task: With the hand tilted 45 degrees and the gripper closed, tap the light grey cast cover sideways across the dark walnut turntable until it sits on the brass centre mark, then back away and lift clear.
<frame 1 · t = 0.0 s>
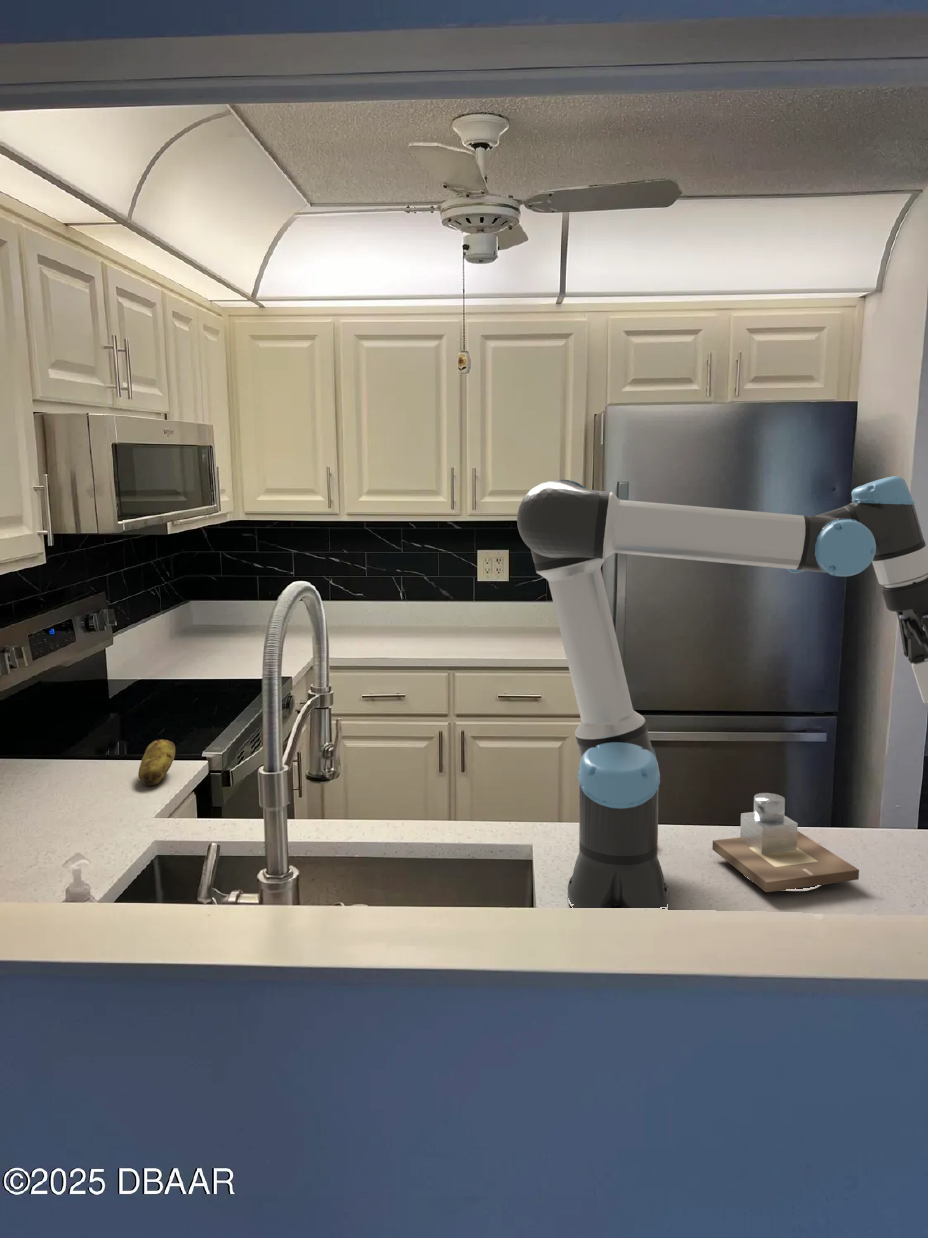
potato: (157, 780, 191), on the worktop
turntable: (782, 859, 139), point 2 cm above the worktop, hinge at 0.0°, touching cast cover
cast cover: (767, 844, 143), point 3 cm above the worktop, touching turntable
turntable base: (782, 873, 139), on the worktop
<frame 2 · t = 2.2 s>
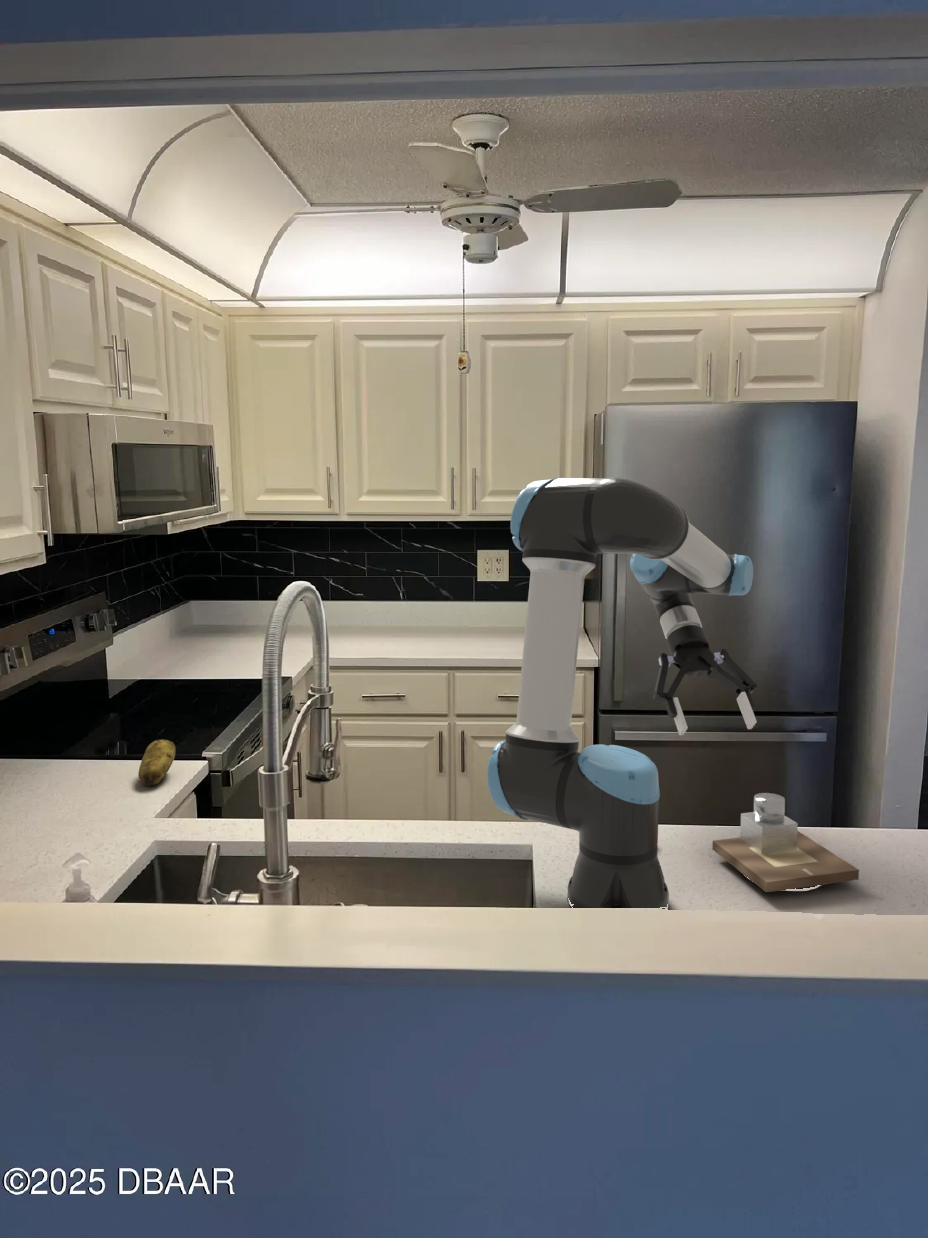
hand: (718, 729, 158), 18 cm above the worktop, tool tilted 45°, fingers open, 13 cm apart
nothing on the worktop moved.
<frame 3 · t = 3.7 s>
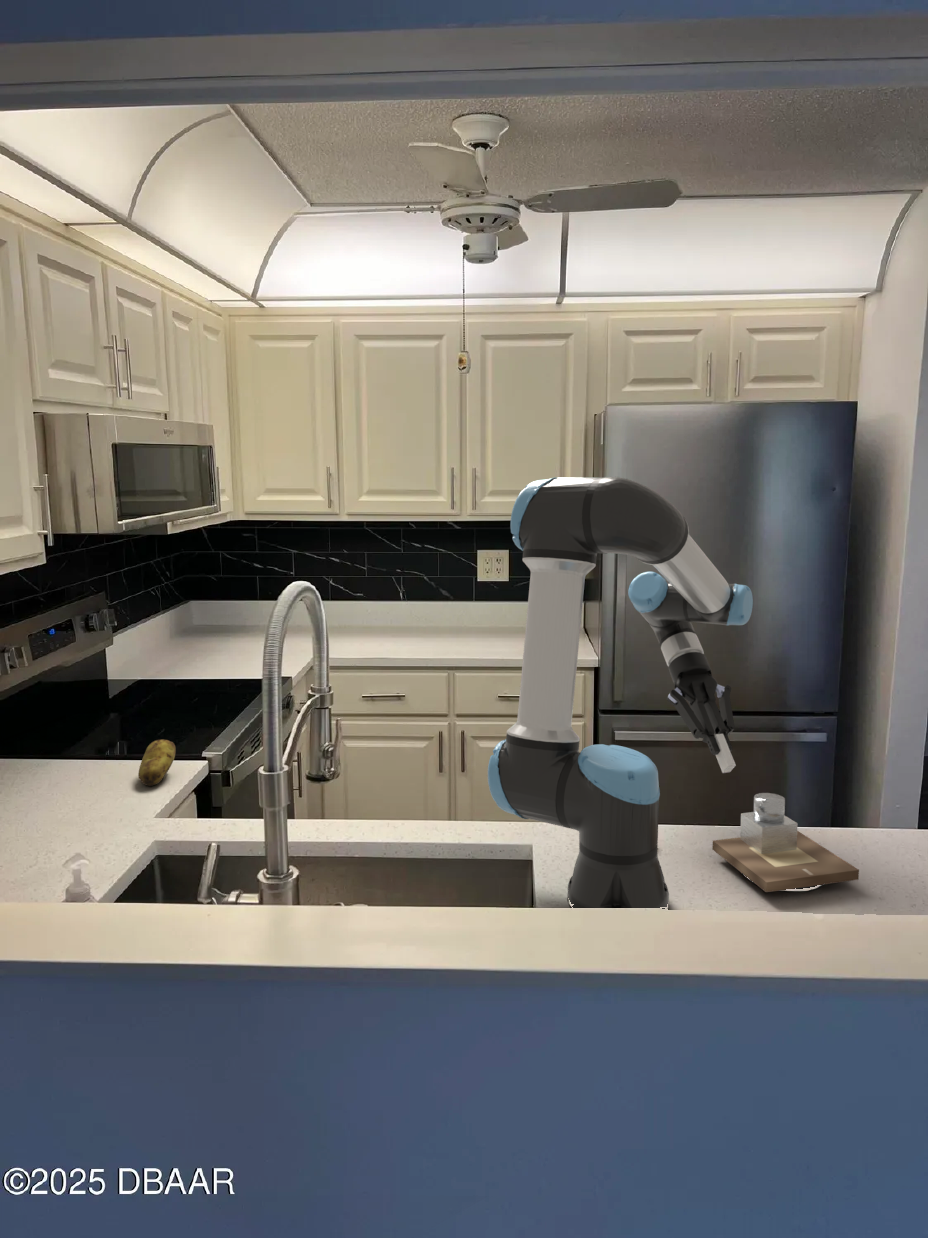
hand: (729, 769, 155), 12 cm above the worktop, tool tilted 45°, fingers closed
nothing on the worktop moved.
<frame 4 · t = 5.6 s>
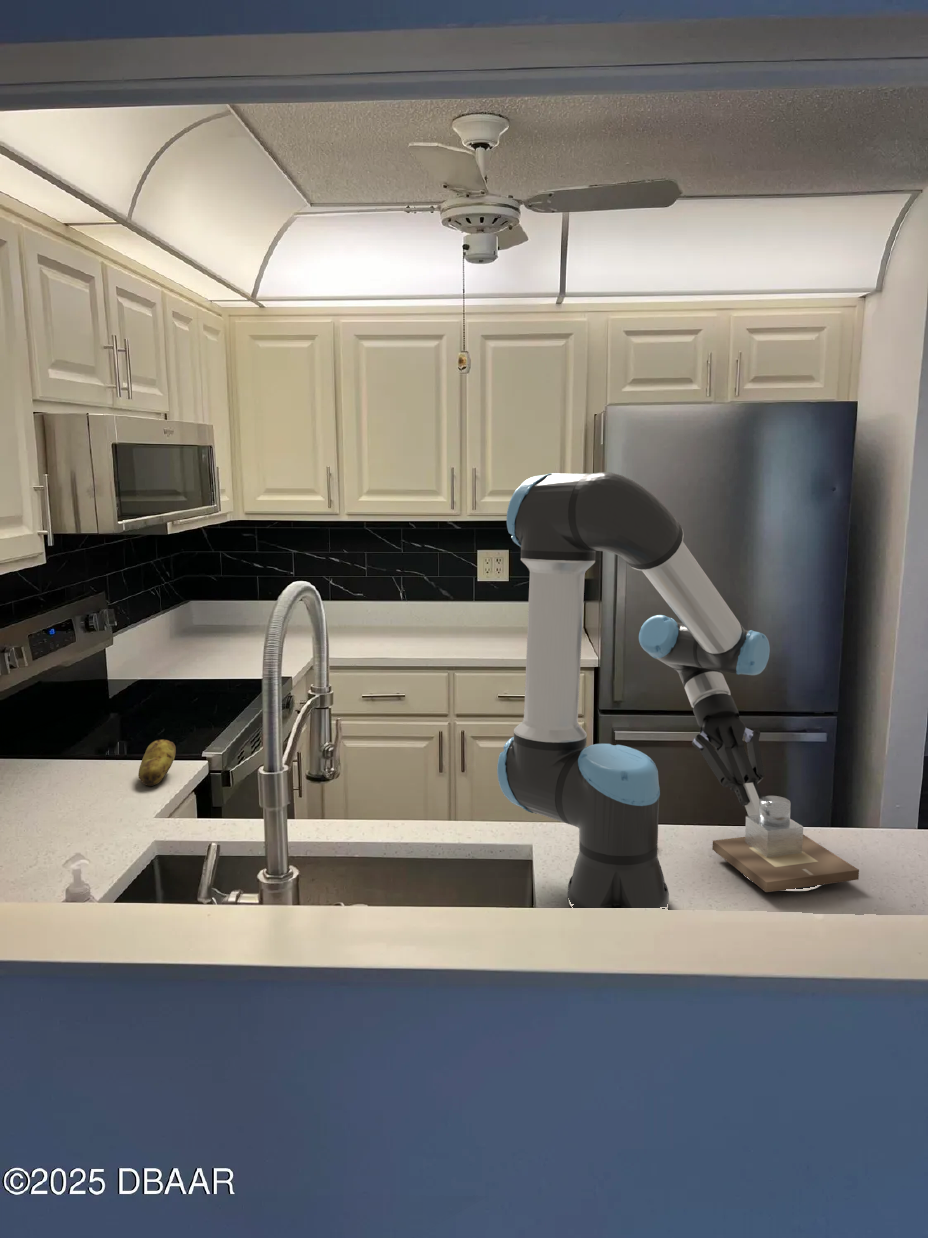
hand: (759, 821, 145), 6 cm above the worktop, tool tilted 45°, fingers closed
cast cover: (773, 847, 142), point 3 cm above the worktop, touching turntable
everything else where it was.
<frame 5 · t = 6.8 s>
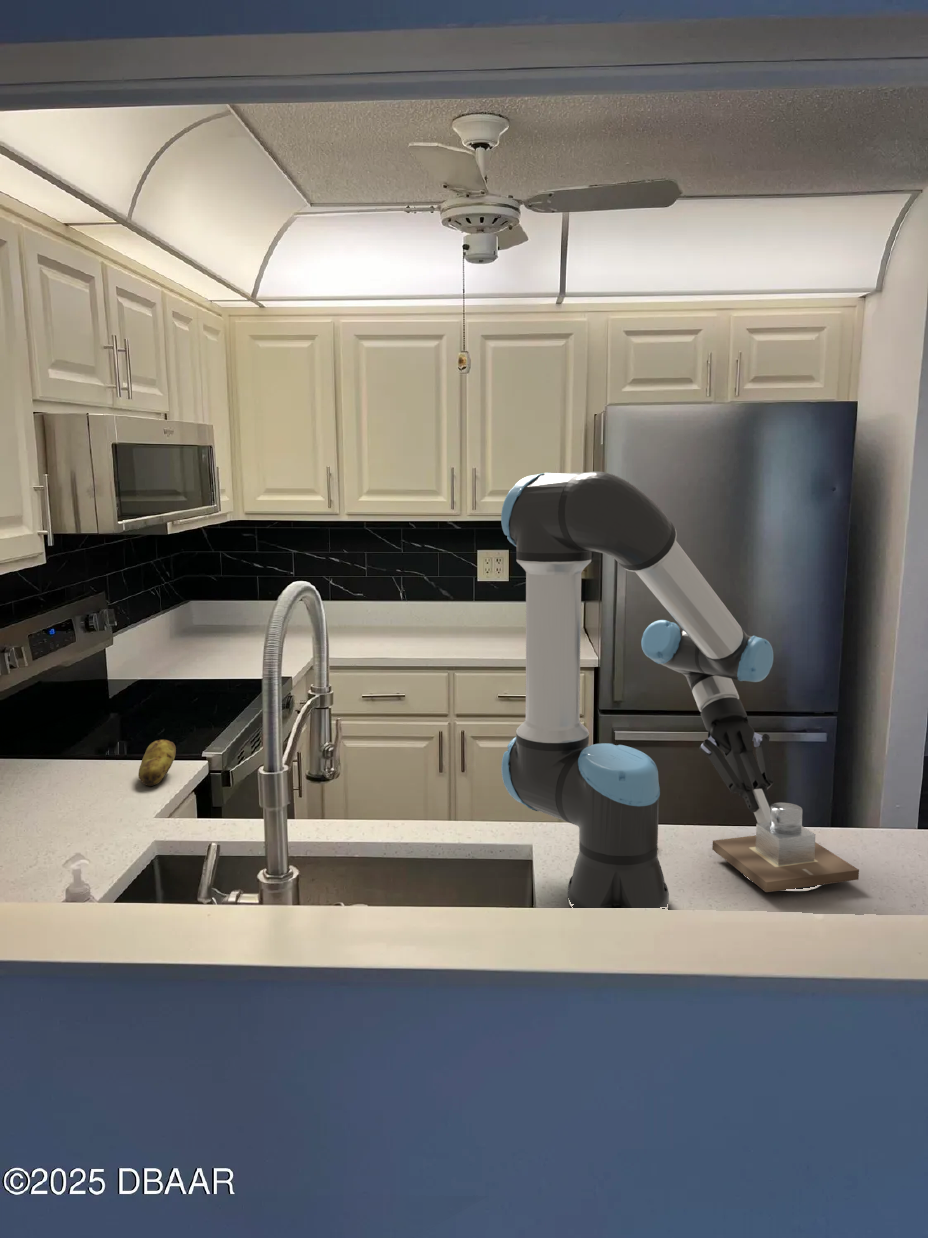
hand: (769, 828, 142), 6 cm above the worktop, tool tilted 45°, fingers closed
cast cover: (784, 855, 138), point 3 cm above the worktop, touching gripper, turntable
everything else where it was.
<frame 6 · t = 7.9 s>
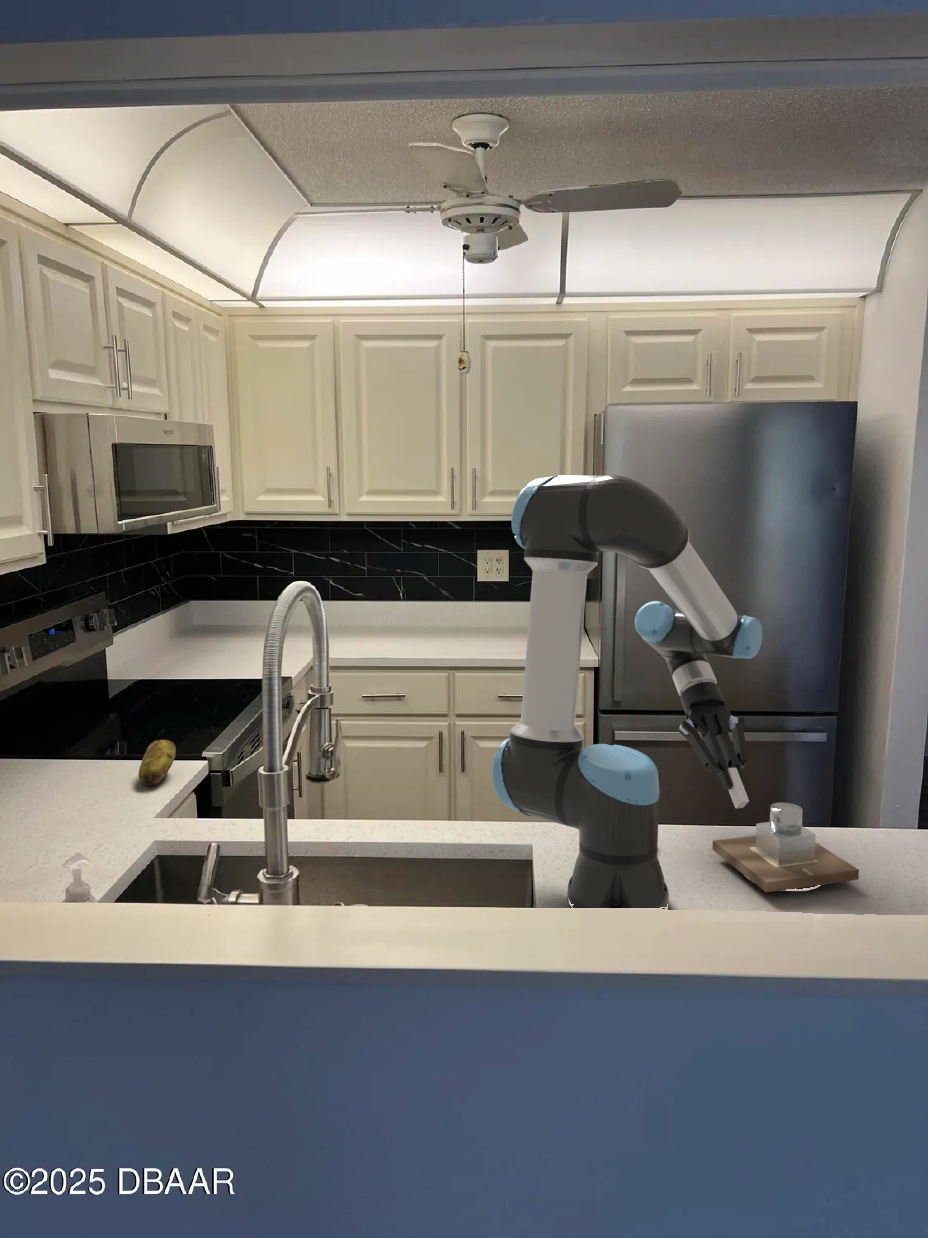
hand: (742, 804, 150), 7 cm above the worktop, tool tilted 45°, fingers closed
cast cover: (784, 855, 138), point 3 cm above the worktop, touching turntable
everything else where it was.
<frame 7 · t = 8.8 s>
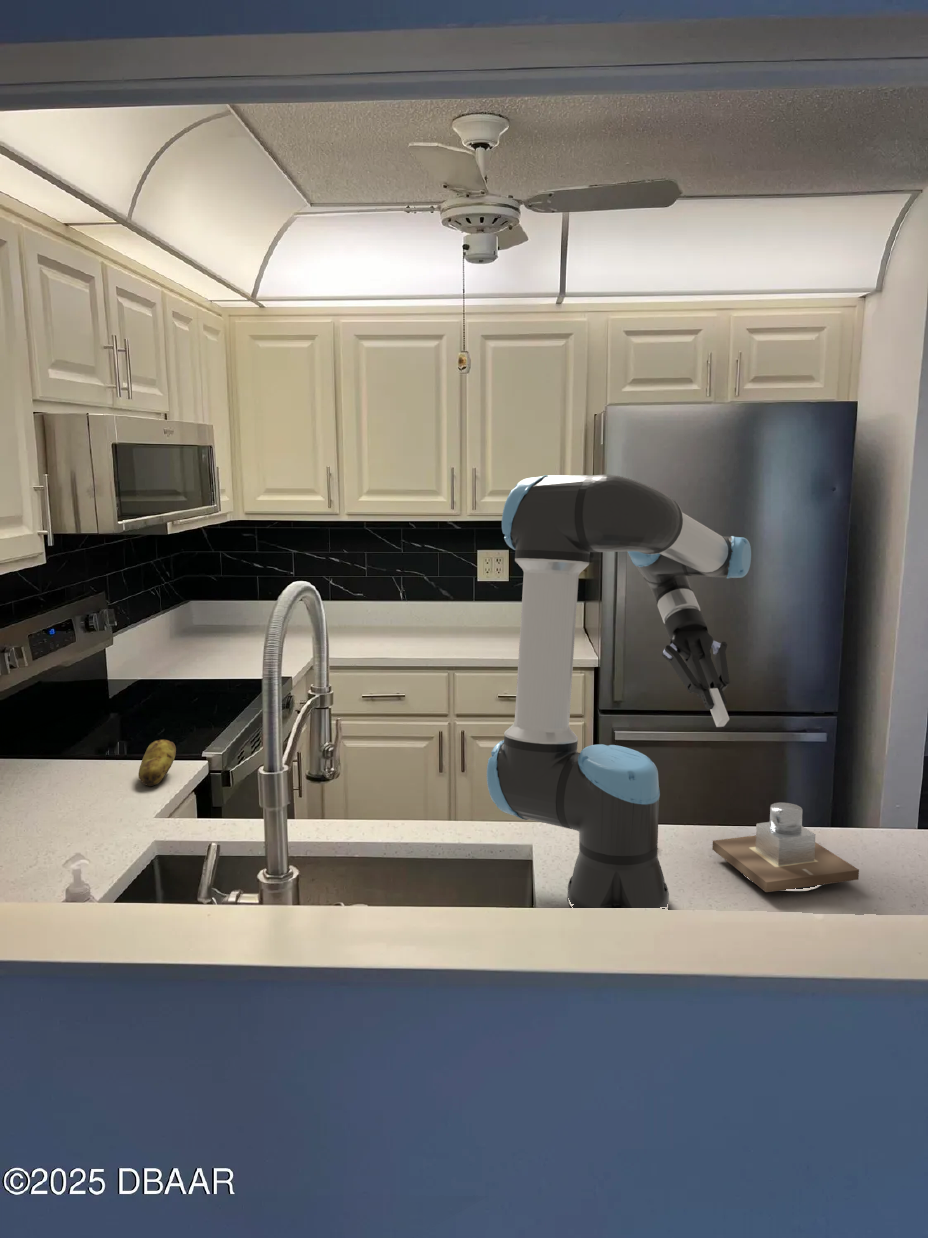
hand: (723, 723, 155), 20 cm above the worktop, tool tilted 45°, fingers closed
nothing on the worktop moved.
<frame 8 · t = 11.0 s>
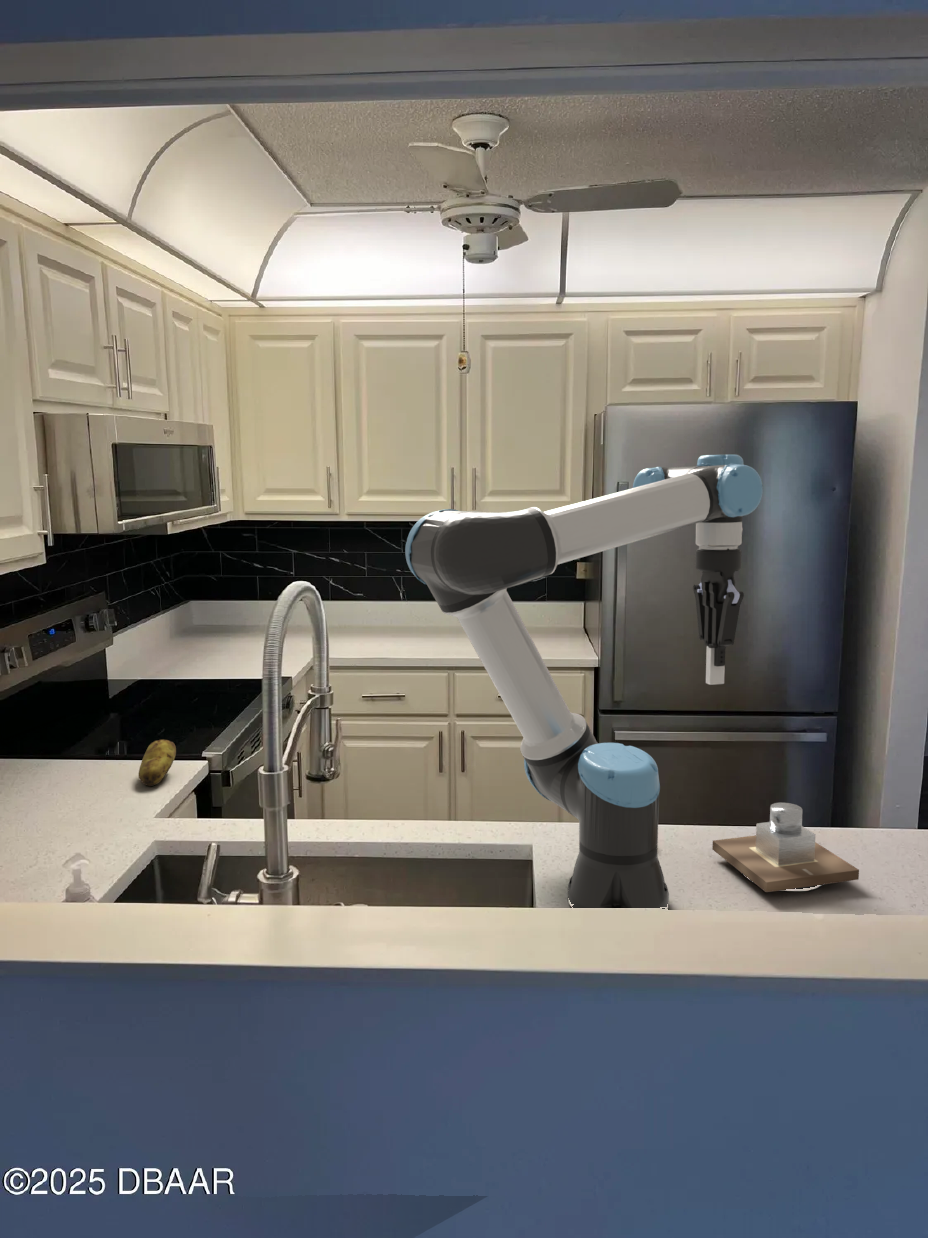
hand: (714, 683, 149), 28 cm above the worktop, tool pointing down, fingers closed
nothing on the worktop moved.
at the end: cast cover 0.4 cm from the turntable (horizontally); cast cover tilted 0°; cast cover touching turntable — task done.
